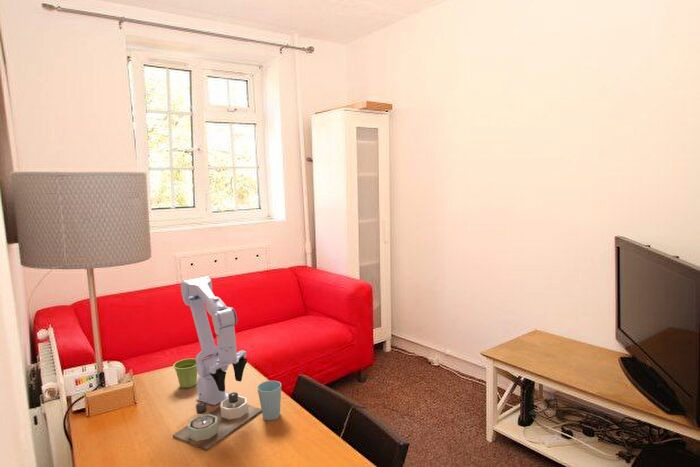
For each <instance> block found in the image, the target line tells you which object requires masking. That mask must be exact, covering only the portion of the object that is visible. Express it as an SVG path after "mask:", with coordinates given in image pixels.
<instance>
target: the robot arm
mask: <svg viewBox="0 0 700 467" xmlns="http://www.w3.org/2000/svg"><path fill="white" fill-rule="evenodd" d="M180 293H181V296H182V301H183V302H184V305H186V306H188V307H189V309H190V311H191V314H192V319H193V322H194V323H193V324H194V326H195V330H196V333H197V338H198V341H199V346H200V349H201V350H200V351H199V352H198V354H197V355H196V356H195V359H196V367H197V383H196V386H197V395H198V397H197V398H196V400H197V401H200V402H205V403H206V404H209V405H212V406H216V405H218V404H221V402H222V401H223V400H225V399H227V398H228V397H229V396H228V395H229V394H230V393H228V392H226V382H225V381H226V374H227V372H226V371H227V370H228V368H229V366H230V365H232V368H233V372H234V378H235V381H236V382H242V380H243V375H244V371H245V367H246V365H247V363H248V359H247V358H246V357H247V351H246V350H240V351H237V340H236V331H235V330H236V329H235V326H236V325H237V323H238V317H237V313H236V310H235V308H234V307H230V306H227V305H226V303H225V302H224V301H223V300H222V299H221V297H219V296H215V294H214V292H213V283H212V279H211V278H210V277H209V276H208V275H207V276H204V277H197V278H192V279H186V280H182V281H181V283H180ZM207 313H208V314H209V316H210V317H211V320H212V325H213V328H214V333H215V334H216V341H217V342H216V343H217V345H216V344H215V339H214V336H213V332H212V328H211V325H210V322H209V317H208V315H207Z"/></svg>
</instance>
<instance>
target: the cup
mask: <svg viewBox="0 0 700 467" xmlns="http://www.w3.org/2000/svg"><path fill="white" fill-rule="evenodd" d="M257 394H258V398H259V403H260V409H262V412H261V413H262V418H263V419H264V420H266V421H273V420H274V421H275V420H277V419H278V418H279V417H280V415H281V401H282V400H281V399H282V383H281V382H280V381H277V380H267V381H263V382H261V383H259V384H258V385H257Z"/></svg>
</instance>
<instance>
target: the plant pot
mask: <svg viewBox="0 0 700 467" xmlns="http://www.w3.org/2000/svg"><path fill="white" fill-rule="evenodd" d="M172 367H173V369H174V370H175V373H176V375H177V381H178V383H179V384H178V385H179V387H180V388H182V389H185V388H187V389H188V388H192V387H194V386H197V380H198V372H197V367H196V358H184V359H181V360H177V361H175V363H174V364H173V366H172Z"/></svg>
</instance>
